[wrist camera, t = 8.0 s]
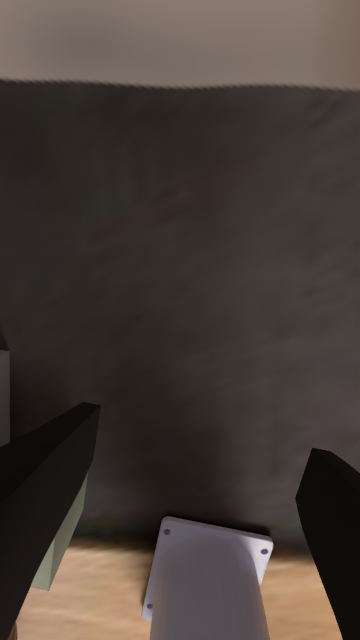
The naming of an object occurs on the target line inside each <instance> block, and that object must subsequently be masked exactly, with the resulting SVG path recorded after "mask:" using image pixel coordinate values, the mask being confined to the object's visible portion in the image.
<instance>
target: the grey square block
mask: <svg viewBox="0 0 360 640" xmlns="http://www.w3.org/2000/svg"><path fill="white" fill-rule="evenodd" d="M9 442H10V351H4V350H0V446H3V445H5V444H7V443H9Z"/></svg>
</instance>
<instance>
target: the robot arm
mask: <svg viewBox="0 0 360 640" xmlns="http://www.w3.org/2000/svg"><path fill="white" fill-rule="evenodd" d="M100 408H101V405H96V404H91V403H86V402H82V403H80V404H78V405H77V406H75V407H73V408H72V409H70V410H68V411H67V412H65V413H63V414H62V415H60V416H58V417H57V418H55V419H53V420H51V421H49V422H48V423H46V424H44V425H42V426H41V427H39V428H37V429H35V430H33V431H31V432H29V433H27V434H25V435H23V436H21V437H19V438H17V439H15V440H13V441H11V442H9V443H7V444H5V445H3V446H0V640H8V638H9V635H10V633H11V630H12V628H13V626H14V623H15V621H16V619H17V616H18V614H19V612H20V609H21V607H22V605H23V602H24V600H25V598H26V596H27V593H28V591H29V589H30V586H31V584H32V582H33V579H34V577H35V575H36V573H37V571H38V569H39V567H40V565H41V563H42V561H43V559H44V557H45V555H46V553H47V551H48V549H49V547H50V545H51V543H52V542H53V540H54V538H55V536H56V534H57V532H58V530H59V529H60V527H61V525H62V523H63V521H64V519H65V517H66V516H67V514H68V512H69V510H70V508H71V506H72V504H73V502H74V501H75V499H76V497H77V495H78V493H79V491H80V489H81V487H82V485H83V482H84V480H85V478H86V475H87V473H88V470H89V467H90V465H91V462H92V460H93V455H94V449H95V442H96V435H97V429H98V422H99V415H100ZM295 499H296V504H297V508H298V513H299V517H300V521H301V525H302V529H303V532H304V535H305V538H306V540H307V543H308V546H309V549H310V551H311V554H312V557H313V559H314V562H315V565H316V567H317V570H318V572H319V575H320V578H321V580H322V583H323V586H324V588H325V591H326V593H327V596H328V599H329V601H330V604H331V607H332V609H333V612H334V615H335V617H336V620H337V623H338V626H339V629H340V632H341V635H342V638H343V640H360V473H359V472H358V471H356V470H355V469H354V468H352V467H351V466H350V465H349V464H347V463H346V462H345V461H343V460H342V459H341V458H339V457H338V456H337V455H335V454H334V453H332V452H331V451H326V450H321V449H316V448H312V450H311V453H310V456H309V459H308V462H307V465H306V468H305V471H304V474H303V477H302V480H301V483H300V486H299V489H298V492H297V495H296V498H295ZM165 529H168V530H165ZM272 548H273V542H272V539H271V538H270V537H268V536H265V535H260V534H255V533H250V532H245V531H240V530H235V529H230V528H225V527H220V526H215V525H210V524H205V523H200V522H194V521H189V520H184V519H179V518H174V517H168V516H167V517H164V518H163V519H162V522H161V526H160V531H159V536H158V540H157V545H156V549H155V554H154V558H153V563H152V567H151V572H150V576H149V581H148V586H147V590H146V595H145V599H144V604H143V608H142V617H143V619H145V620H148V621H152V623H151V631H150V640H270V637H269V632H268V627H267V622H266V617H265V611H264V606H263V601H262V596H261V591H260V585H261V582H262V579H263V576H264V573H265V570H266V567H267V564H268V561H269V558H270V555H271V552H272Z"/></svg>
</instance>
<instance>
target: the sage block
mask: <svg viewBox="0 0 360 640" xmlns="http://www.w3.org/2000/svg"><path fill="white" fill-rule="evenodd" d="M87 477H88V473H87V475H86V478H85V480H84V482H83V485H82V487H81V489H80V491H79V493H78V495H77V497H76V499H75V501H74V502H73V504H72V506H71V508H70V510H69V512H68V514H67V516H66V517H65V519H64V521H63V523H62V525H61V527H60V529H59V530H58V532H57V534H56V536H55V538H54V540H53V542H52V543H51V545H50V547H49V549H48V551H47V553H46V555H45V557H44V559H43V561H42V563H41V565H40V567H39V569H38V571H37V573H36V575H35V577H34V579H33V582H32V584H31V586H30V587H32V588H38V589H43V590H48V591H49V589H50V586H51V584H52V582H53V579H54V577H55V574H56V572H57V570H58V567H59V565H60V563H61V560H62V558H63V556H64V553H65V551H66V549H67V546H68V544H69V541H70V539H71V537H72V534H73V532H74V530H75V527H76V525H77V523H78V520H79V518H80V515H81V513H82V511H83V505H84V498H85V491H86V484H87Z"/></svg>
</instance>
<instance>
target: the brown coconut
mask: <svg viewBox="0 0 360 640" xmlns="http://www.w3.org/2000/svg"><path fill="white" fill-rule="evenodd" d="M8 640H17V625H16V621H15V623H14V626H13V628H12V630H11V633H10V635H9V638H8Z"/></svg>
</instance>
